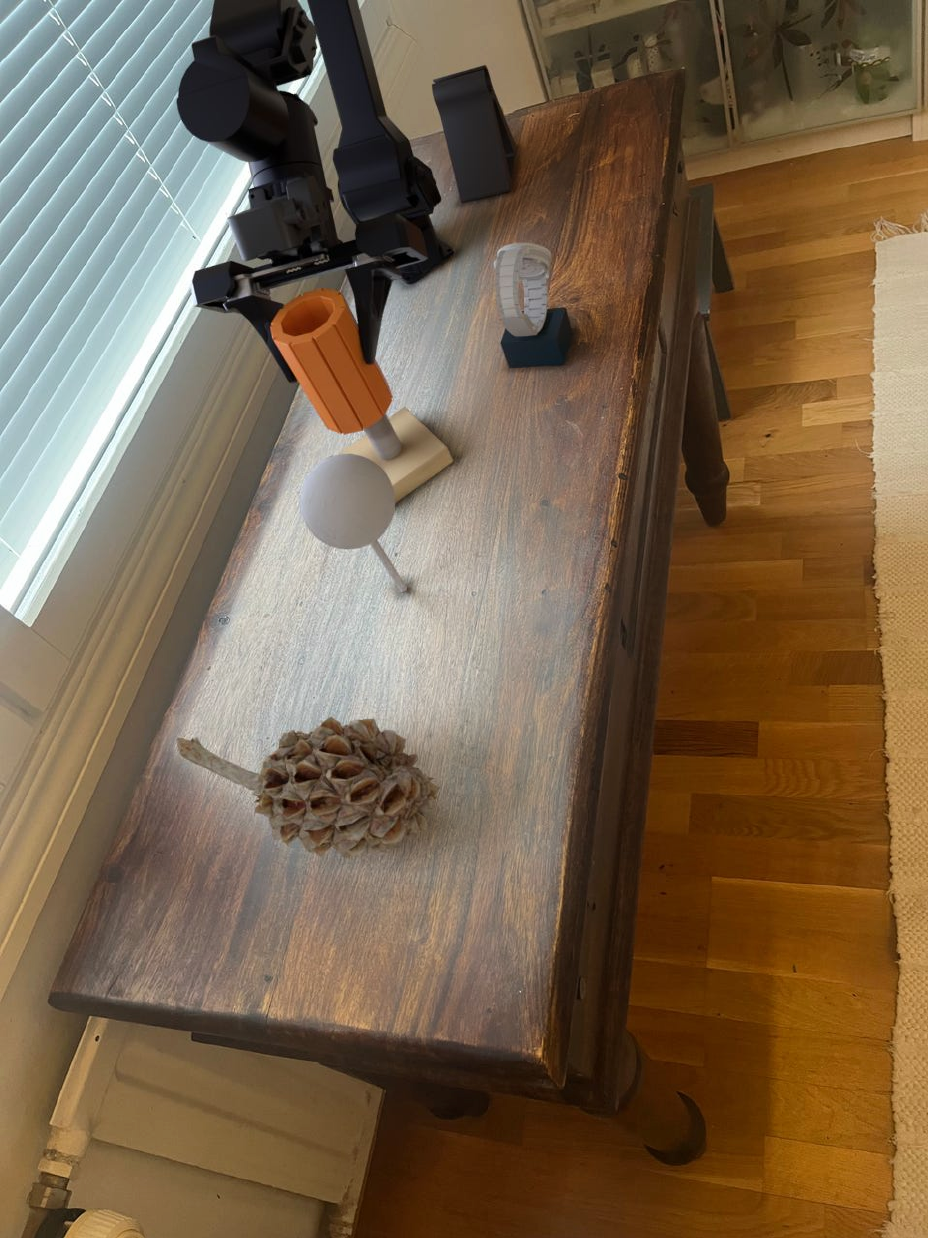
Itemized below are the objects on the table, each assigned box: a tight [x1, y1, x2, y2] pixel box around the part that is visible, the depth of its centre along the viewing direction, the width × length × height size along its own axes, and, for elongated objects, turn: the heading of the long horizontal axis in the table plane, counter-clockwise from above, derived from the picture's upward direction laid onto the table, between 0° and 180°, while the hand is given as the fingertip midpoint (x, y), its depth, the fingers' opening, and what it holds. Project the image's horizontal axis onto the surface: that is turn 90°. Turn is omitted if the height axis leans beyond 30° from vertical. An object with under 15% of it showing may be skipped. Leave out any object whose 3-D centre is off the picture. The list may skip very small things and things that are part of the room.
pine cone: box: [175, 716, 441, 860], centre depth 65 cm, size 22×10×10 cm, turn 74°
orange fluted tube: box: [270, 287, 393, 435], centre depth 77 cm, size 6×7×10 cm
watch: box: [493, 242, 574, 369], centre depth 85 cm, size 6×8×11 cm
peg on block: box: [338, 406, 454, 504], centre depth 84 cm, size 8×8×8 cm
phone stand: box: [431, 64, 518, 204], centre depth 105 cm, size 9×6×12 cm, turn 173°
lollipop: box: [298, 453, 408, 593], centre depth 73 cm, size 7×7×15 cm
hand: (331, 373), depth 76 cm, fingers closed on orange fluted tube, 6 cm apart
